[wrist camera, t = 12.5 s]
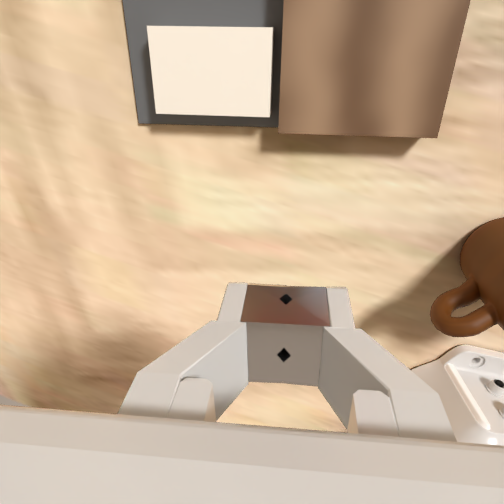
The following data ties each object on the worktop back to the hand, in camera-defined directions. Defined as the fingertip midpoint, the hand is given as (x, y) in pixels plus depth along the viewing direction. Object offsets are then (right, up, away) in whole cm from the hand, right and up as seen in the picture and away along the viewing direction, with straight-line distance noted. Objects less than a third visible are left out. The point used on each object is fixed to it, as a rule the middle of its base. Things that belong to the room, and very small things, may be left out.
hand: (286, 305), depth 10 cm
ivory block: (-4, +16, +20) cm, 26 cm away
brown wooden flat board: (+7, +19, +17) cm, 27 cm away
